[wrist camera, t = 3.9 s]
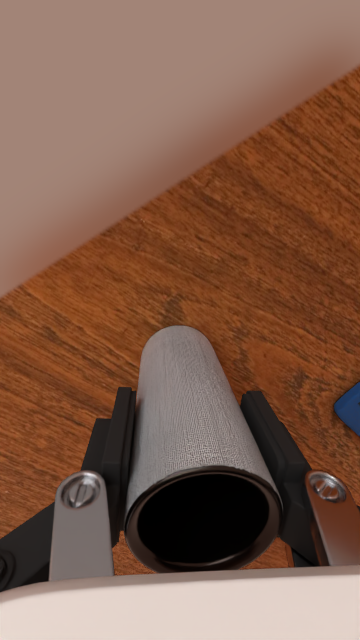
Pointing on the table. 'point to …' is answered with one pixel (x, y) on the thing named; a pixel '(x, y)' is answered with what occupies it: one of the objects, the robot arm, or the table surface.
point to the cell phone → (350, 408)
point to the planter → (194, 465)
